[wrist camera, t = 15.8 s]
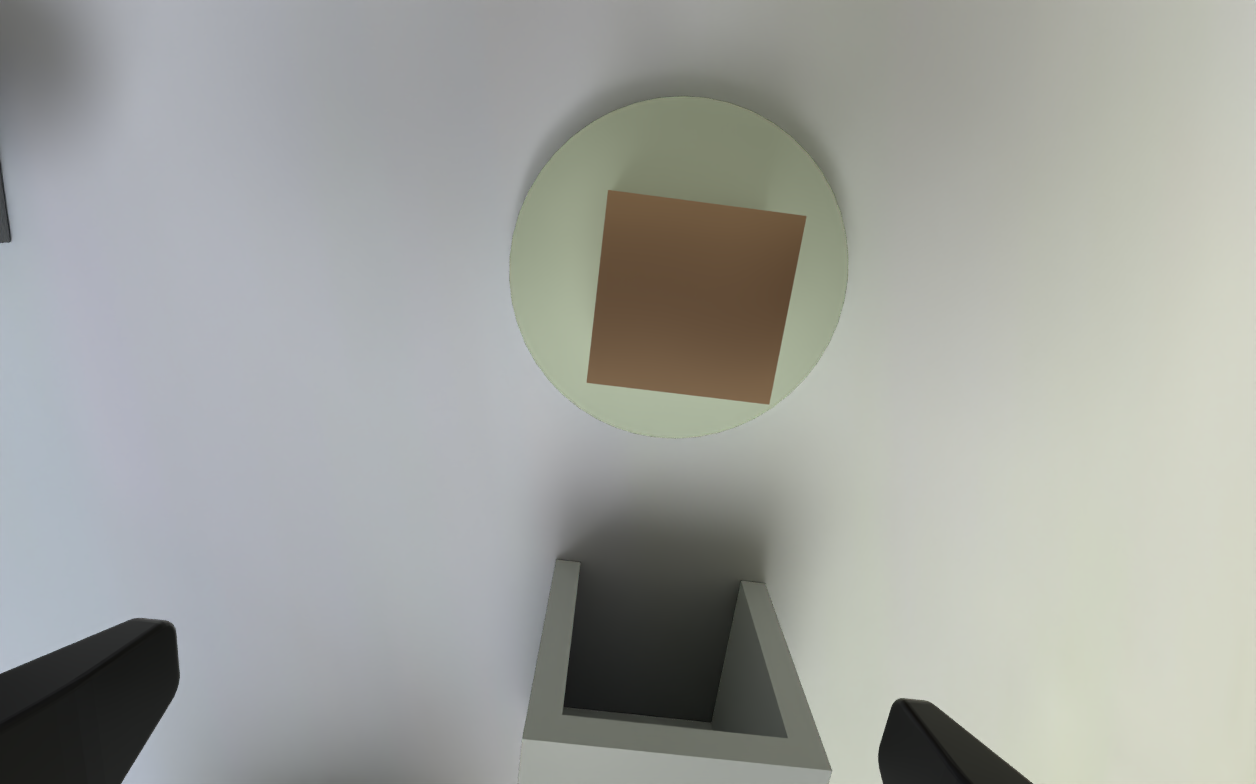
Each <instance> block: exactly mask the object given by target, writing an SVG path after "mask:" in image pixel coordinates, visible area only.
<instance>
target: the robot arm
mask: <svg viewBox="0 0 1256 784" xmlns="http://www.w3.org/2000/svg"><path fill="white" fill-rule="evenodd" d="M179 679H180V671H179V660H178V648H177V636H176V629H175V627H174V625H173V624H172V623H171V622H169V621H166V620H157V619H148V618H134V619H131V620H128V621H126V622H123V623H121V624H119V625H116V626H114V627H111V628H109V629H107V630H104V631H102V632H99V633H97V634H95V635H92V636H90V637H87V638H85V639H83V640H80V641H78V642H76V643H73V644H71V645H68V646H66V647H64V648H61V649H59V650H56V651H54V652H52V653H49V654H47V655H44V656H42V657H40V658H37V659H35V660H32V661H30V662H28V663H25V664H23V665H20V666H18V667H16V668H13V669H11V670H8V671H6V672H4V673H1V674H0V784H121V783H122V781H123V780H124V778H125V776H126V775H127V773H128V771H129V770H130V768H131V767H132V765H133V763H134V762H135V760H136V758H137V757H138V755H139V753H140V752H141V750H142V749H143V747H144V745H145V744H146V742H147V740H148V739H149V737H150V736H151V734H152V732H153V731H154V729H155V727H156V726H157V724H158V722H159V721H160V719H161V718H162V716H163V714H164V713H165V711H166V709H167V708H168V706H169V705H170V703H171V701H172V699H173V698H174V696H175V693H176V691H177V688H178V685H179ZM878 762H879V769H880V773H881V777H882V781H883V784H1033V783H1032V782H1030V781H1029V780H1028V779H1027V778H1025V777H1024V776H1023V775H1022V774H1020V773H1019V772H1018V771H1017V770H1015V769H1014V768H1013V767H1012V766H1010V765H1009V764H1008V763H1007V762H1005V761H1004V760H1003V759H1002V758H1000V757H999V756H998V755H997V754H995V753H994V752H993V751H992V750H990V749H989V748H988V747H987V746H985V745H984V744H983V743H981V742H980V741H979V740H978V739H976V738H975V737H974V736H973V735H971V734H970V733H969V732H968V731H966V730H965V729H964V728H963V727H961V726H960V725H959V724H958V723H956V722H955V721H954V720H953V719H951V718H950V717H949V716H948V715H946V714H945V713H944V712H943V711H941V710H940V709H939V708H938V707H936V706H935V705H934V704H932V703H931V702H928V701H925V700H916V699H906V698H900V699H897V700H896V701H895V702H894V703H893V705H892V707H891V710H890V713H889V717H888V720H887V723H886V726H885V730H884V733H883V736H882V740H881V743H880V747H879V753H878Z"/></svg>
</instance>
